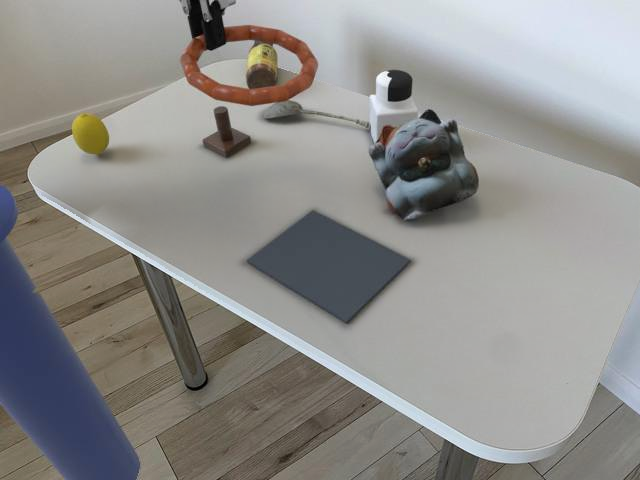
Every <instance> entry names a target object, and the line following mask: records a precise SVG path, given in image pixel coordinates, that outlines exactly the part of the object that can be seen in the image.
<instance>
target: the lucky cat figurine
mask: <svg viewBox="0 0 640 480" xmlns="http://www.w3.org/2000/svg"><path fill="white" fill-rule="evenodd" d="M457 122H458V121H456V120H455V119H454V118H449V119H447V120H444V121H442V120H441V119H440V117H439V116H438V115H437V112H436V111H434V110H433V109H430V108H428V109H426V110H424V112H423V113H422V114H421V115H420V116H418V118H417V119H411V120H409V121H408V122H406V123H404V124H402V125H400V126H399V127H398V128H397V127H393V126H391V125H385V126H383V127H382V132H381V134H380V137H379V139H378V140H377V141H376V142H375V143H374V142H373V144H372V145H371V146H370V147H369V148H368V156H369V157H370V159H371V161H372V163H373V166H374V170H375V171H376V172H377V175H378V177H379V180H380V182H381V184H382V186H383V189H384V191H385V192H384V193H385V195H386V203H387V207H388V209H389V210H390V212H391V213H393V214H394V215H396V216H398V217H399V218H400V219H402V220H403V221H408V220H414V219H417V218H420V217H422V216H424V215H426V214H429V213H431V212H434V211H437V210H440V209H443V208H446V207H450V206H453V205H456V204H459V203H461V202H463V201H466V200H467V199H469V198H472V197H473V196H475V194H476V193H477V191H478V190H479V182H480V181H479V179H480V178H479V174H478V171H477V168H476V167H475V166H474V165H473V163H472V162H470V161H469V160H468V159H467V157H466V155H465V153H466V152H465V150H464V147H465V146H464V145H463V141H462V139H461V136H460V134H459V128H458V127H459V126H458V123H457Z"/></svg>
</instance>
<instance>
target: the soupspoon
mask: <svg viewBox="0 0 640 480" xmlns="http://www.w3.org/2000/svg"><path fill="white" fill-rule="evenodd" d="M299 114H304V115H315V116H316V115H317V116H321V117H322V116H323V117H329V118H334V119H338V120H344V121H348V122H352V123H353V122H354V123H355V124H356V125H358V124H359V125H360V126H362V127H364V128H366V129H368V131H369V132H370V129H371V123H370V121H364V120H360V119H359V118H357V119H356V118H352V117H350V116H349V117H348V116H344V115H339V114H335V113H330V112H329V113H328V112H323V111H318V110H308V109H304V108H303V106H302V104H300V102H298V101H295V100H292V99H291V100H290V99H289V100H288V101H285V102H277V103H272V104H271V105H270V106H269V107H268V108H267V109H266V110H265V112H264V113H263V116H262V118H263V119H265V120H266V119H275V118H281V117H287V116H293V115H299Z"/></svg>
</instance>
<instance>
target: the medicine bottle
mask: <svg viewBox="0 0 640 480" xmlns="http://www.w3.org/2000/svg"><path fill="white" fill-rule="evenodd" d="M413 81H414V80H413V77H412V75H411V74H410V73H408V72H407V71H404V70H400V69H388V70H385V71H382V72H381V73H379V74H378V75H377V76H376V78H375V94H370V95H369V124H370V123H371V129H370V131H369V132H370V135H371V138H372V141H373V144H374V143H375V142H376V141H377V140H378V139H379V137H380V134H381V132H382V127H383V126H385V125H391V126H393V127H397V128H398V127H399V126H400V125H402V124H404V123H406V122H408V121H409V120H411V119H417V118H419V116H418V115H419V110H418V109H419V108H417V105H416V103H415V101H414V99H413V97H412V96H413V95H412V94H413Z"/></svg>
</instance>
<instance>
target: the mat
mask: <svg viewBox="0 0 640 480" xmlns="http://www.w3.org/2000/svg"><path fill="white" fill-rule="evenodd" d="M246 263H247V264H248V265H250V266H253V267H254V268H255V269H257V270H259V271H260V272H262V273H263V274H264V275H267V276H268V277H270V278H271V279H273V280H275V281H276V282H278V283H279V284H281V285H283V286H285V287H286V288H288V289H289V290H291V291H293V292H294V293H296V294H297V295H299V296H301V297H303V298H304V299H306V300H307V301H309V302H311V303H312V304H314V305H316V306H317V307H319V308H320V309H322V310H324V311H325V312H327V313H328V314H331V316H334V317H335V318H337V319H339V320H340V321H342V322H343V323H345V324H348V323H349V322H350V321H351V320H352V319H353V318H355V317H356V316H357V315H358V314H359V313H360V312H361V310H363V309H364V308H365V307H366V306H367V305H368V304H369V303H370V302H371V301H372V300H373V299H374V298H375V297H376V296H378V294H379V293H380V292H382V291H383V289H385V288H386V287H387V285H388V284H389V283H391V282H392V280H394V278H396V277H397V276H398V275H399V274H400V273H401V272H402V271H403V270H404V269H405V268H406V267H407V266H408V265H409V264H411V259H410V258H408V257H406V256H404V255H402V254H400V253H398V252H396V251H395V250H393V249H390V248H388V247H387V246H384V244H381V243H379V242H377V241H375V240H373V239H371V238H369V237H367V236H365V235H363V234H361V233H359V232H357V231H355V230H353V229H352V228H349V227H347V226H345V225H343V224H342V223H340V222H337V221H336V220H334V219H332V218H330V217H328V216H326V215H324V214H323V213H320V212H318V211H317V210H313V209H312V210H311V211H309V212H308V213H307V214H306V215H304V216H303V217H302V218H301V219H298V221H296V222H295V223H294V224H293V225H291V226H290V227H288V228H287V229H286V230H284V231H283V232H282V233H280V234H279V235H278V236H276V237H275V238H274V239H272V240H271V241H270V242H268V243H267V244H265V245H264V246H263V247H262V248H261V249H259V250H258V251H257V252H255V253H254V254H252V255H251V256H250V257H248V258H247V259H246Z"/></svg>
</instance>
